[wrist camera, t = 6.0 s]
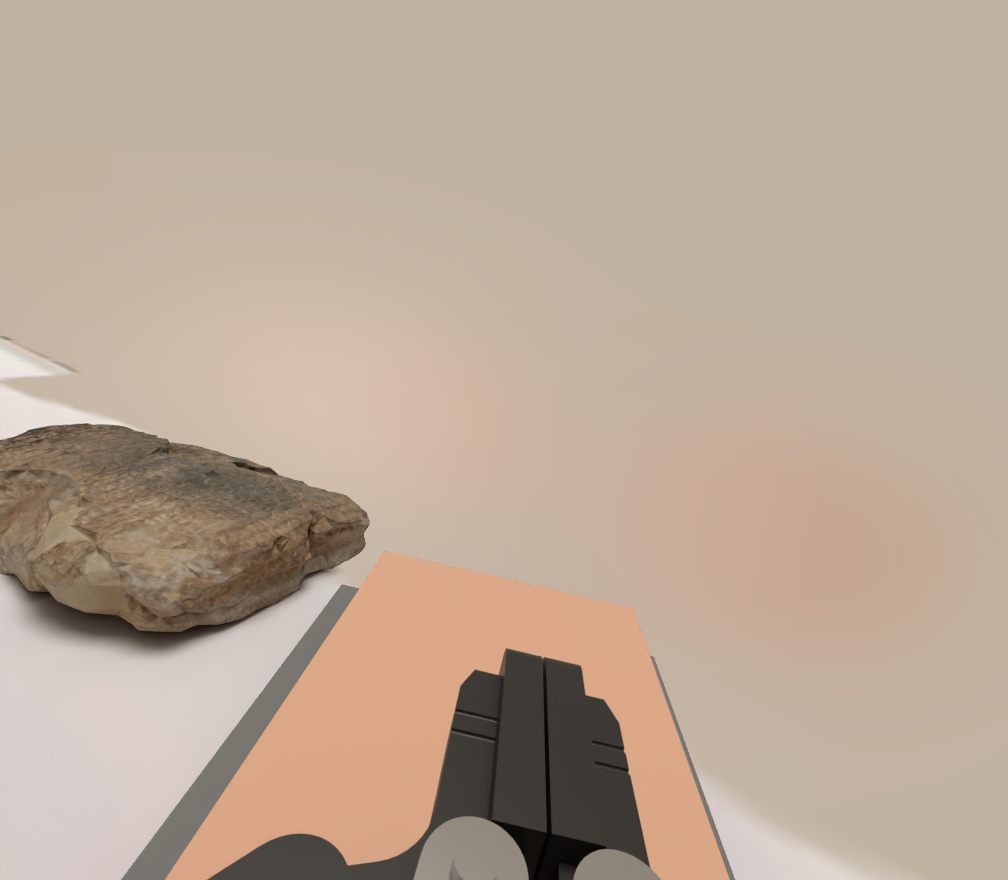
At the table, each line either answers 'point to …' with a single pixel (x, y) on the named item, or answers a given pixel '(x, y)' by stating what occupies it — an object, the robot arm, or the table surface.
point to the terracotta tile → (441, 720)
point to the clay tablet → (161, 526)
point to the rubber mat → (221, 769)
